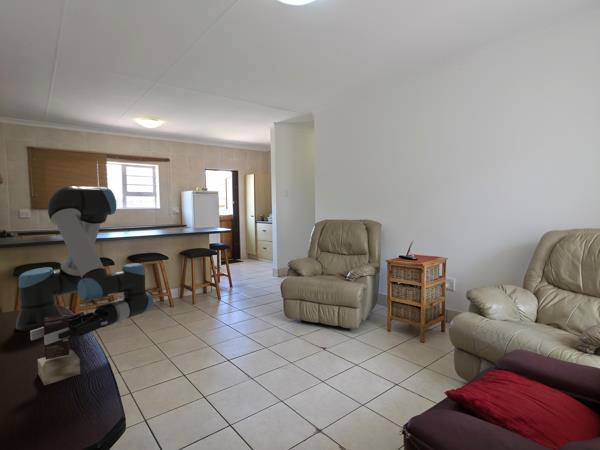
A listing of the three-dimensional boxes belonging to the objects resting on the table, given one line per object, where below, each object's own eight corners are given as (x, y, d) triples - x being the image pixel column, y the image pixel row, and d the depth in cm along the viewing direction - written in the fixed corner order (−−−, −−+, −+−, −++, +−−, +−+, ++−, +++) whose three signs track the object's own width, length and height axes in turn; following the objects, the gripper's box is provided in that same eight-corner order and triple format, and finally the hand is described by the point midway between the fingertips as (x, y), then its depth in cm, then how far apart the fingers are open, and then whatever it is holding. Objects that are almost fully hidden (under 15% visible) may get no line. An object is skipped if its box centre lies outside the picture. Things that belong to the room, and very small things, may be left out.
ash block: (72, 364, 110) (72, 349, 109) (80, 374, 104) (79, 358, 103) (38, 374, 103) (37, 359, 103) (44, 386, 97) (43, 369, 97)
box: (45, 360, 99) (42, 321, 98) (46, 354, 103) (44, 316, 102) (70, 355, 103) (67, 317, 102) (70, 349, 106) (68, 313, 105)
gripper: (131, 328, 115) (58, 357, 94) (94, 318, 123) (20, 343, 102) (130, 306, 114) (56, 331, 93) (93, 298, 122) (18, 320, 101)
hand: (38, 337), depth 98 cm, fingers closed on box, 6 cm apart
